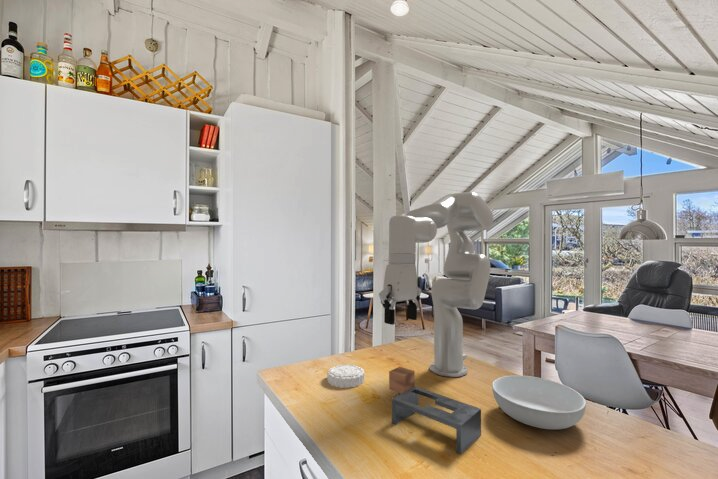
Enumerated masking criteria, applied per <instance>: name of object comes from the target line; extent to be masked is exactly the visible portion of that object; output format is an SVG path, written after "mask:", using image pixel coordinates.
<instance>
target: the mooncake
mask: <svg viewBox="0 0 718 479" xmlns="http://www.w3.org/2000/svg"><path fill="white" fill-rule="evenodd" d="M365 373H366V372H365V370H364V368H362V367H360V366H357V365H355V364H338V365H335V366H333V367H330V368H329V369H328V370H327V378H326V379H327V383H328V384H329V385H330V386H331V387H335V388H340V389H350V388H356V387H359V386H361V385H363V384H364V383H365V381H366V379H365Z"/></svg>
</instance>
